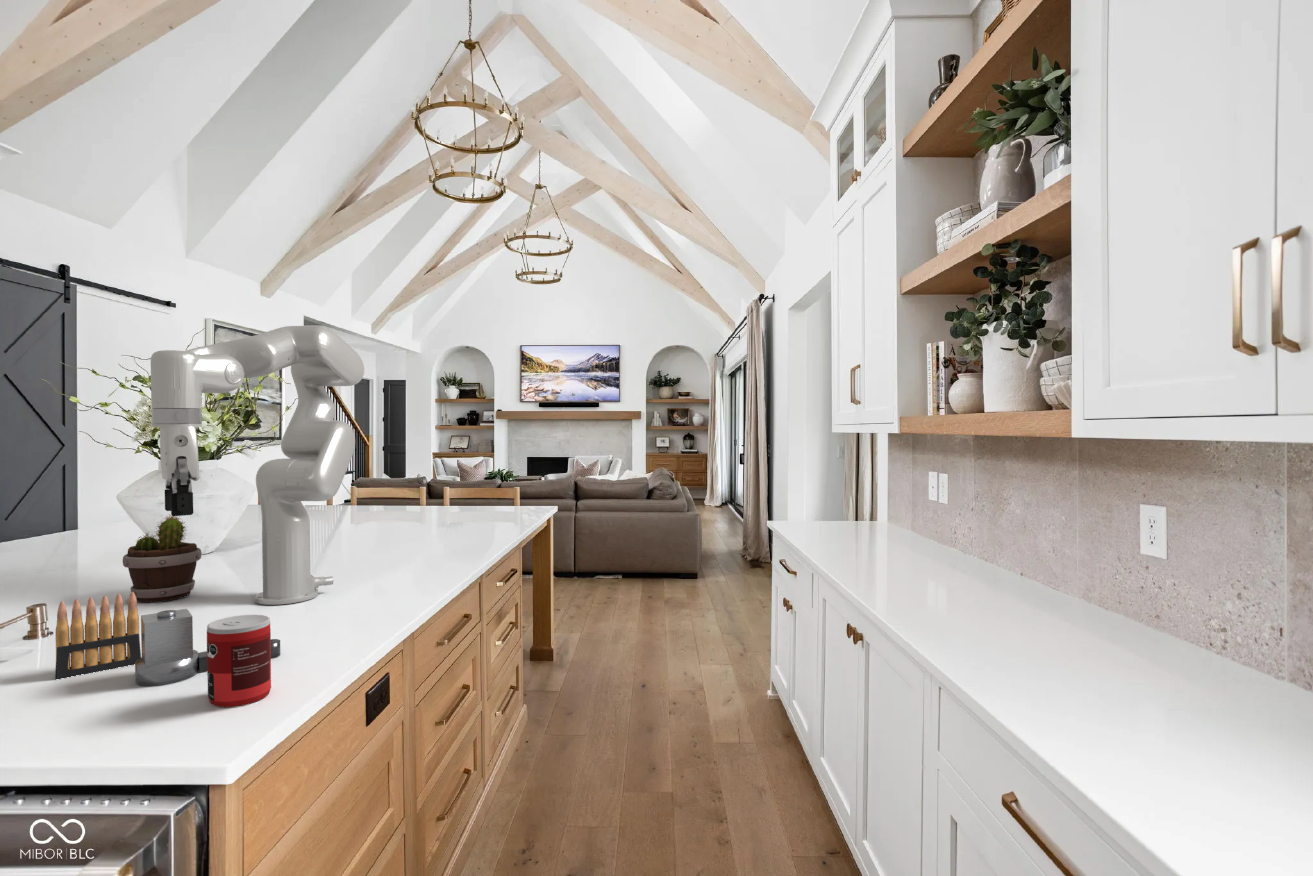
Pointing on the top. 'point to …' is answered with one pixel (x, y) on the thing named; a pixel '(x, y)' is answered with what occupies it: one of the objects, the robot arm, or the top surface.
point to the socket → (166, 636)
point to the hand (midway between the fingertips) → (178, 512)
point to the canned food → (238, 660)
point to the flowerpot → (162, 564)
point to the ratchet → (180, 668)
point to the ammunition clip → (96, 638)
